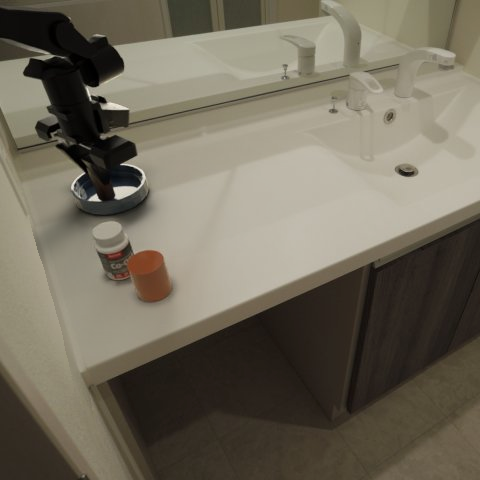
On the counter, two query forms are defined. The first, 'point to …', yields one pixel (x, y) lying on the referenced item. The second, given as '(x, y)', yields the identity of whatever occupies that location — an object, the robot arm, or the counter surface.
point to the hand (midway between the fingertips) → (101, 181)
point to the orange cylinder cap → (149, 275)
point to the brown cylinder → (101, 188)
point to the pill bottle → (113, 249)
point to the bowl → (125, 187)
